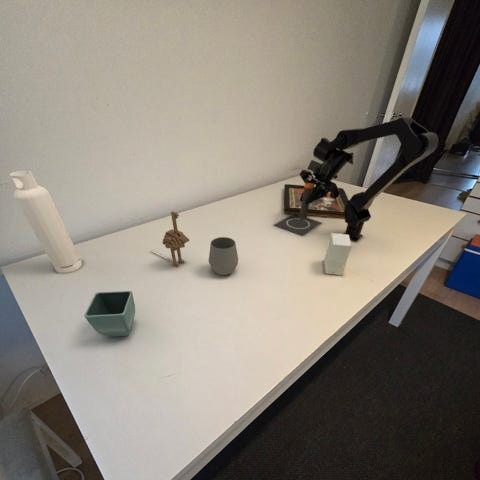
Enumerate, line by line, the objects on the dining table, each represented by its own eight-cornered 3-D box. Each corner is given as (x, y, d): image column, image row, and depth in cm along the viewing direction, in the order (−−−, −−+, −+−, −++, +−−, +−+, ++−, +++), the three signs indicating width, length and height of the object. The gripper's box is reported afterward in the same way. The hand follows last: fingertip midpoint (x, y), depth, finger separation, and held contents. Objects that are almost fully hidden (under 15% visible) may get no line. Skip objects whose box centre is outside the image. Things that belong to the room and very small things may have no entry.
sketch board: (294, 214, 120) (294, 213, 120) (321, 223, 113) (321, 222, 113) (273, 225, 111) (273, 224, 111) (302, 235, 105) (302, 234, 104)
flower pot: (107, 318, 70) (95, 291, 63) (141, 316, 70) (132, 290, 64) (98, 343, 63) (82, 316, 57) (135, 341, 64) (124, 314, 58)
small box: (341, 275, 85) (352, 246, 78) (324, 273, 86) (332, 244, 79) (340, 262, 91) (349, 234, 84) (323, 260, 92) (331, 232, 84)
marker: (301, 216, 108) (307, 182, 99) (308, 218, 106) (315, 184, 97) (297, 218, 106) (303, 184, 97) (304, 220, 105) (310, 186, 95)
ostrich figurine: (193, 263, 89) (186, 210, 77) (178, 272, 85) (169, 217, 73) (159, 248, 96) (148, 197, 84) (145, 255, 92) (130, 203, 80)
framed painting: (362, 219, 117) (365, 212, 115) (284, 217, 116) (285, 210, 114) (340, 190, 144) (341, 184, 142) (276, 189, 144) (277, 183, 142)
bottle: (87, 262, 89) (45, 170, 69) (69, 274, 83) (18, 179, 64) (68, 257, 91) (22, 167, 71) (49, 270, 85) (-6, 175, 66)
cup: (216, 281, 82) (214, 253, 75) (205, 267, 88) (202, 239, 81) (243, 274, 85) (243, 246, 78) (230, 260, 91) (230, 233, 84)
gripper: (308, 145, 97) (279, 181, 101) (343, 157, 85) (308, 197, 89) (320, 166, 105) (292, 199, 109) (353, 180, 93) (321, 216, 98)
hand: (302, 202), depth 101 cm, fingers closed on marker, 3 cm apart
